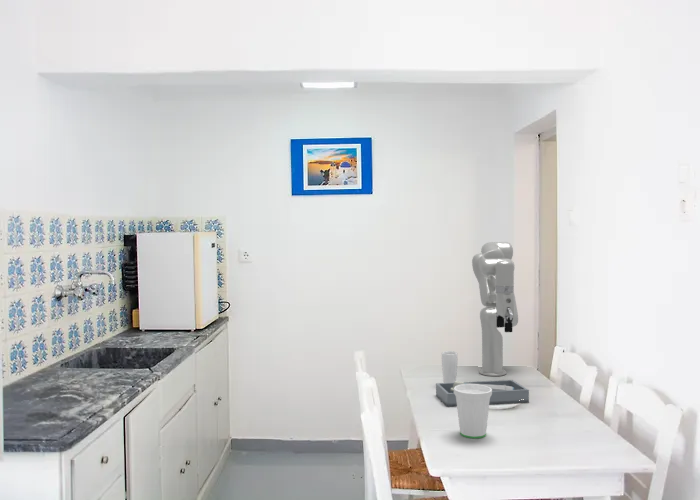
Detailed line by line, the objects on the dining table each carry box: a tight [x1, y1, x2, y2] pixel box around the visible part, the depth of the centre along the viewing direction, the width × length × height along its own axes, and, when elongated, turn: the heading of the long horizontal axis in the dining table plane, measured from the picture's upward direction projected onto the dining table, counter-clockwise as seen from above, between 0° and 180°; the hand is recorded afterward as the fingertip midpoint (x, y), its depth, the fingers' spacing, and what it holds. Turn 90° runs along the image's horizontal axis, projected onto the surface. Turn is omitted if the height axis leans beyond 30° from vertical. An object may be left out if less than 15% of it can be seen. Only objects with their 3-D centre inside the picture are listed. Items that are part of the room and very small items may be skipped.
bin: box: [435, 379, 530, 408], centre depth 236 cm, size 16×33×5 cm, turn 97°
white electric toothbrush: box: [450, 380, 514, 393], centre depth 236 cm, size 5×7×25 cm
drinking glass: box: [441, 350, 458, 383], centre depth 255 cm, size 7×7×15 cm
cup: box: [454, 384, 492, 439], centre depth 195 cm, size 12×12×15 cm
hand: (504, 329), depth 250 cm, fingers open, 9 cm apart
